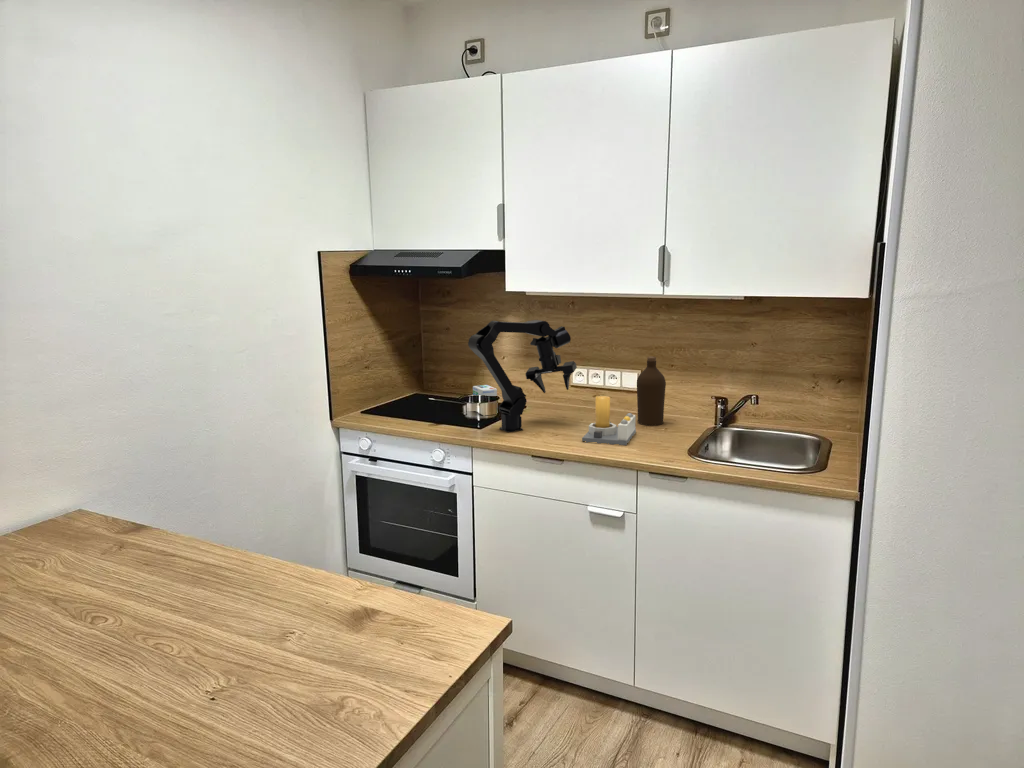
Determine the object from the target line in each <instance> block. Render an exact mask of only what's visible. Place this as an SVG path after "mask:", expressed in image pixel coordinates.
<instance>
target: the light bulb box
mask: <svg viewBox="0 0 1024 768" xmlns="http://www.w3.org/2000/svg"><path fill="white" fill-rule="evenodd" d="M473 395H487V396H497V397H498V389H497V388H496V387H493V386H491V385H489V384H483V385H482V384H481V385H473V386H472V396H473Z"/></svg>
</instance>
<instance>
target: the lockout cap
mask: <svg viewBox="0 0 1024 768" xmlns="http://www.w3.org/2000/svg"><path fill="white" fill-rule="evenodd" d="M594 410H595V417H594V418H595V419H594V420H595V422H594V423H595V427H596V428H609V427H610V422H611V396H608V395H597V396H595V409H594Z"/></svg>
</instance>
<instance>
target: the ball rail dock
mask: <svg viewBox="0 0 1024 768" xmlns="http://www.w3.org/2000/svg"><path fill="white" fill-rule="evenodd" d="M636 420H637V419H636V414H633V413H631V412H629V413H628V412H627V414H626V415H625V416H624V418H623V419H622V420H621V421H620V423H618V424H615V423H613V422H612V421H610V427H609V428H596V427H595V422H592V423H590V424H589V425H588V431H587V432H586V433H585V434H584V435H583V436H582V437H581V441H586V442H585V443H588V442H597V443H596V444H601V443H607V444H606V445H614V444H619V445H618V446H627V445H628V444H629V442H630V441H631V440H632V438H633V437H634V436H635V434H636V433H637V430H636V429H637V428H636ZM632 436H633V437H632ZM630 439H631V440H630ZM608 443H609V444H608ZM627 443H628V444H627Z"/></svg>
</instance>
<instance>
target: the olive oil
mask: <svg viewBox="0 0 1024 768" xmlns="http://www.w3.org/2000/svg"><path fill="white" fill-rule="evenodd" d="M646 359H647V361H646V367H645V369H643V370H642V372H640V374H639V375H638V377H637V380H636V400H637V423H638V424H640V425H643V426H649V425H650V426H660V425H662V424H664V416H665V415H664V413H665V398H666V385H667V383H666V381H667V380H666V378H665V376H664V375H663V373H662V372H661V371H660V370H659V369H658V368H657V360H656V359H657V357H656V356H647V357H646Z"/></svg>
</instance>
